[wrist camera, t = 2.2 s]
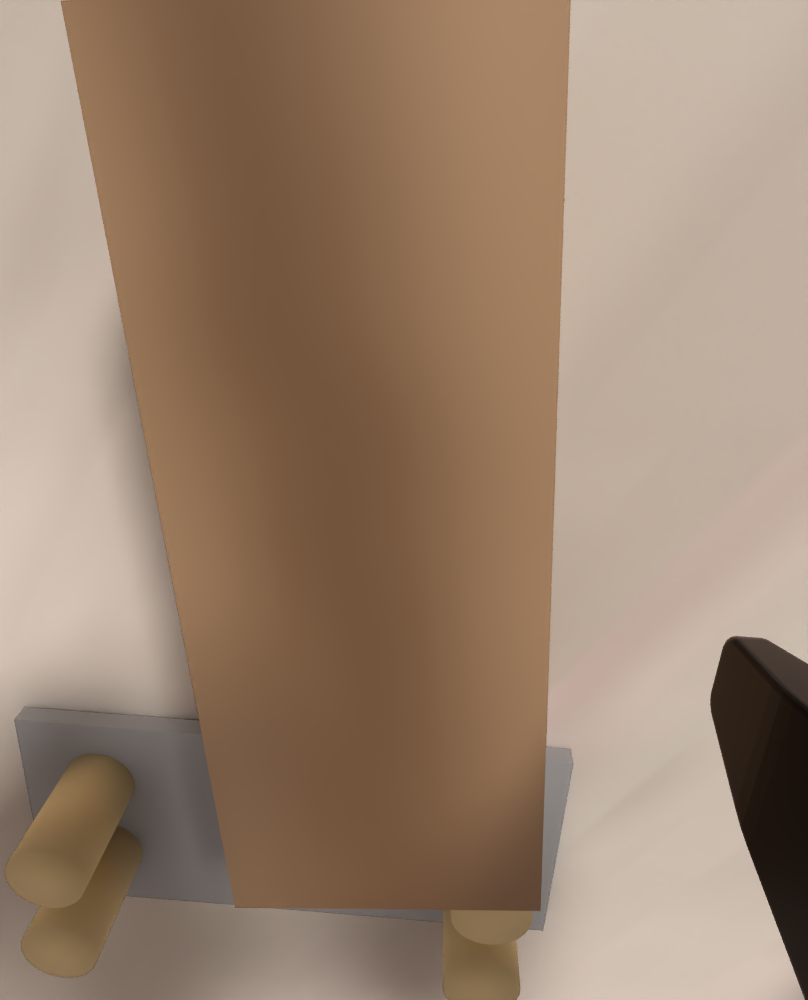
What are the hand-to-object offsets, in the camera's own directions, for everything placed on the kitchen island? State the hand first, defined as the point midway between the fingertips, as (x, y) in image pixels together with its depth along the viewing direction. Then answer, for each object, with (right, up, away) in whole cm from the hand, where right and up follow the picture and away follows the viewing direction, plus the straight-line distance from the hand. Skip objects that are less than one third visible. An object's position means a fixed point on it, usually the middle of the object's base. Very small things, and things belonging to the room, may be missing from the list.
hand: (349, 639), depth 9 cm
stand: (-2, -7, +11) cm, 14 cm away
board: (0, +3, +7) cm, 8 cm away
